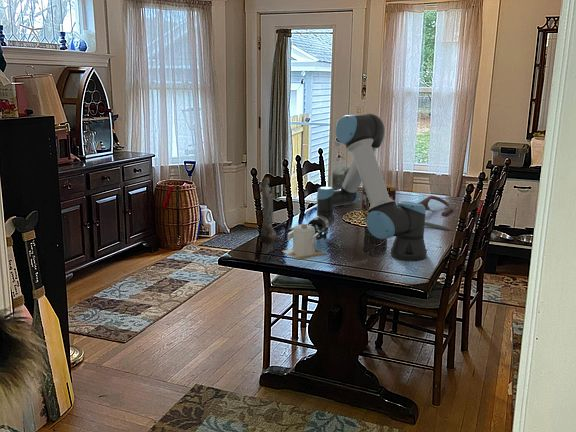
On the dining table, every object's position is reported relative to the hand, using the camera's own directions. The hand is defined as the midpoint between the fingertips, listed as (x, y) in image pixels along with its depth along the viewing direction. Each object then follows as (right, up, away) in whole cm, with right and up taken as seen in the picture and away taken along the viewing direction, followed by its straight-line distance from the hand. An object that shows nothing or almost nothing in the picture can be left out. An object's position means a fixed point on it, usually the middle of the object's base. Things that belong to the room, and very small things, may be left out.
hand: (300, 238), depth 230 cm
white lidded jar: (+2, -6, +6) cm, 9 cm away
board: (+2, -7, +6) cm, 10 cm away
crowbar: (+59, +4, +55) cm, 80 cm away
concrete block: (+26, +17, +102) cm, 106 cm away
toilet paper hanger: (+77, +11, +82) cm, 113 cm away
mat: (+11, -4, +21) cm, 24 cm away
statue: (-14, -2, +26) cm, 30 cm away
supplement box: (+45, +10, +77) cm, 90 cm away
